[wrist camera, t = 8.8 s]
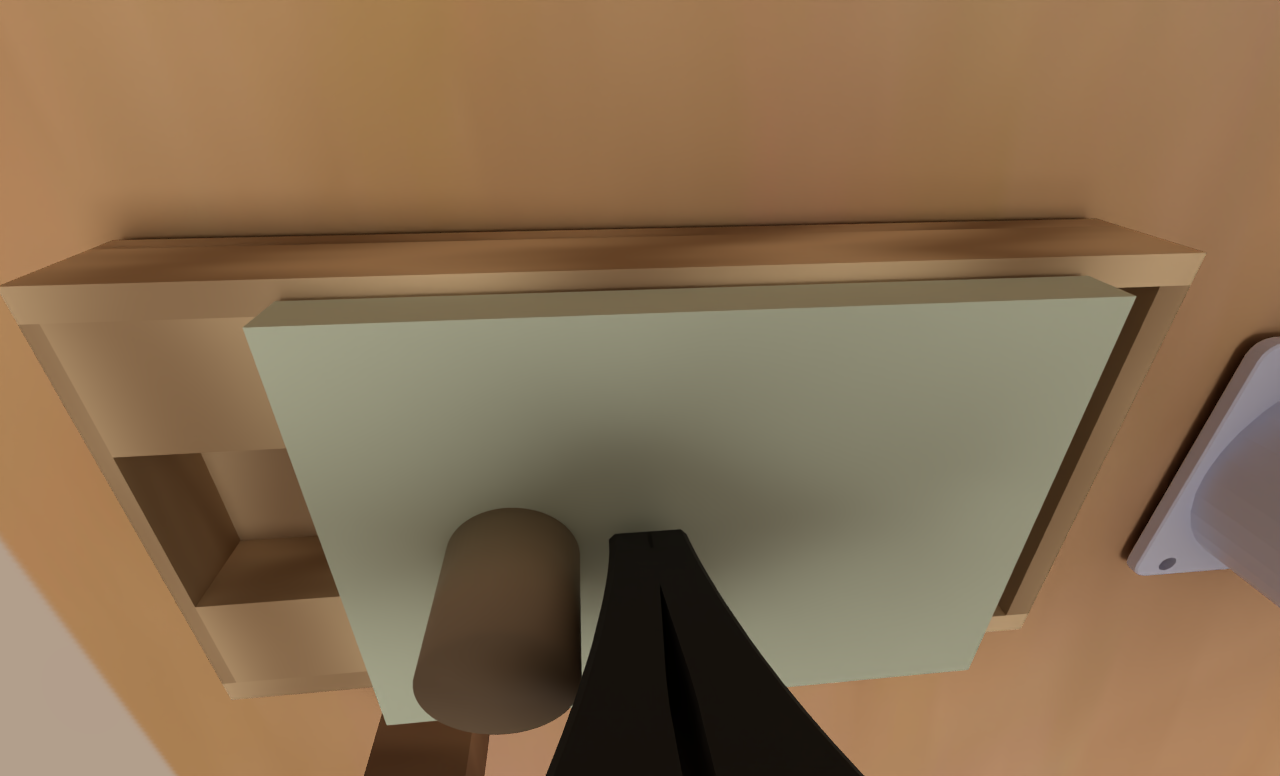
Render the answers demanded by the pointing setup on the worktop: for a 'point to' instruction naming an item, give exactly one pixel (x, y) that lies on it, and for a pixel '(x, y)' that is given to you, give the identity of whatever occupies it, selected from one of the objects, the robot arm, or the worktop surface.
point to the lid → (676, 468)
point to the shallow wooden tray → (450, 266)
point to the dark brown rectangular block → (426, 751)
